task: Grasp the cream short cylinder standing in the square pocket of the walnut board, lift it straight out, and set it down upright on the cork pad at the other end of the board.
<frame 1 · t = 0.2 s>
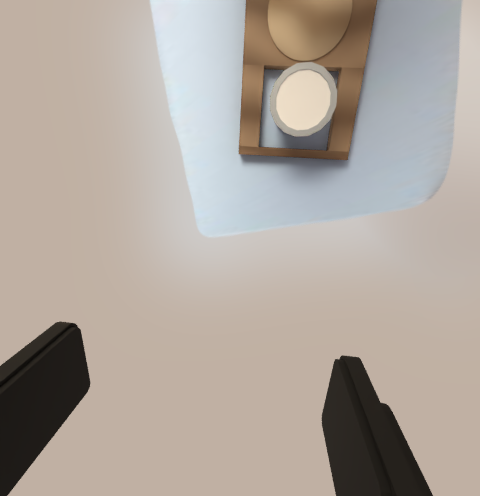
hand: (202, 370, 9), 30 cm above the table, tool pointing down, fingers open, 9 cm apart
pocket board: (301, 70, 31), on the table
cream short cylinder: (296, 111, 33), resting in pocket board
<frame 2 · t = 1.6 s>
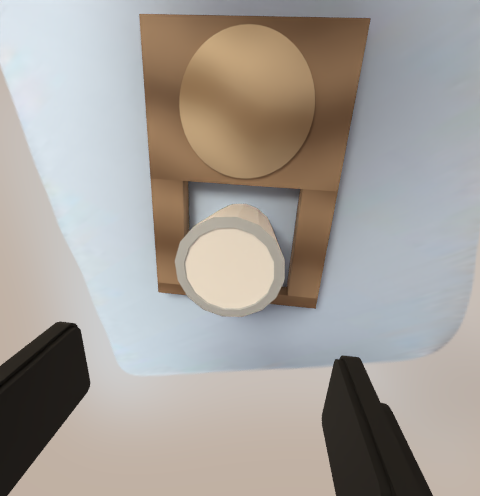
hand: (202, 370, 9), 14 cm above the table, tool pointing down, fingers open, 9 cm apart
pocket board: (243, 182, 21), on the table
cream short cylinder: (240, 235, 22), resting in pocket board
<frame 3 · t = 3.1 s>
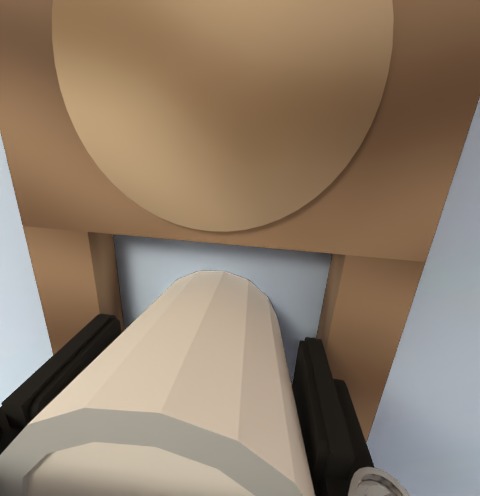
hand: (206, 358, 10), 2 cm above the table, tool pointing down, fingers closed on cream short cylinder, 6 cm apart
pocket board: (219, 231, 10), on the table
cream short cylinder: (217, 323, 12), resting in pocket board, touching gripper
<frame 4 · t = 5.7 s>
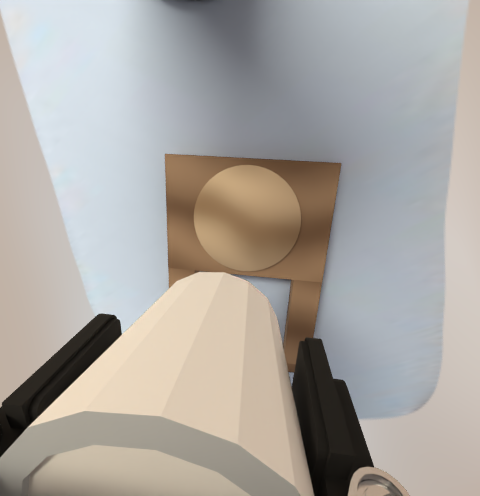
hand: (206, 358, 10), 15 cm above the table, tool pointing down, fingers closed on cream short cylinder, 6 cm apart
pocket board: (244, 268, 25), on the table
cream short cylinder: (217, 324, 12), point 13 cm above the table, touching gripper
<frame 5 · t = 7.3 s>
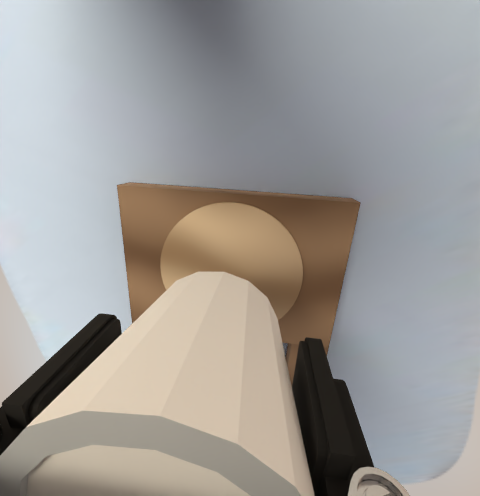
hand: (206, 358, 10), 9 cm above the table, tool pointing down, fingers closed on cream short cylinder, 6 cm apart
pocket board: (230, 323, 20), on the table
cream short cylinder: (217, 324, 12), point 6 cm above the table, touching gripper
when the fingers open (5 cm above the table, at t = 8.5 s): cream short cylinder stays where it is, resting on pocket board.
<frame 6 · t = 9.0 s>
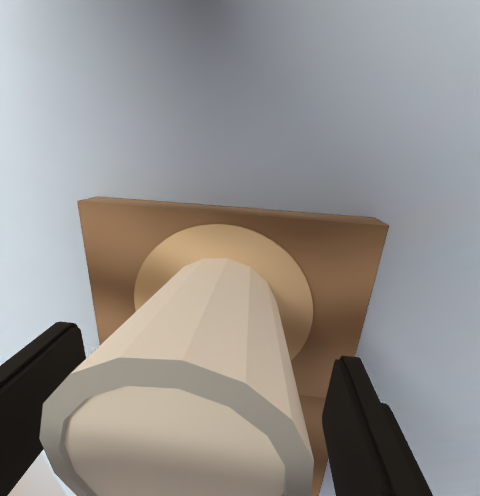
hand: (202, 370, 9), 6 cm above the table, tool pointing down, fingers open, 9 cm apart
pocket board: (223, 364, 16), on the table
cream short cylinder: (220, 307, 13), point 2 cm above the table, touching pocket board
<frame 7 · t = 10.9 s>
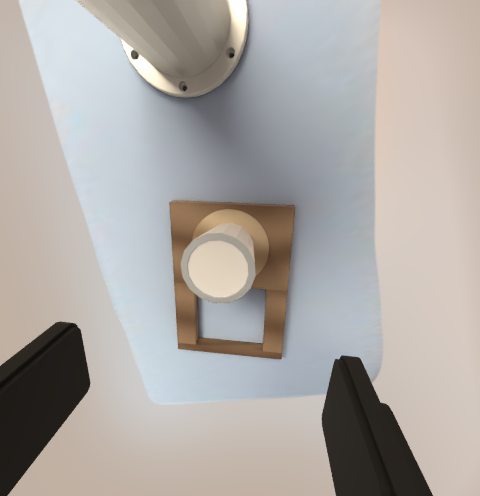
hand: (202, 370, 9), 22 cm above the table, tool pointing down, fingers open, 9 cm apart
pocket board: (231, 281, 33), on the table
cream short cylinder: (229, 246, 30), point 2 cm above the table, touching pocket board
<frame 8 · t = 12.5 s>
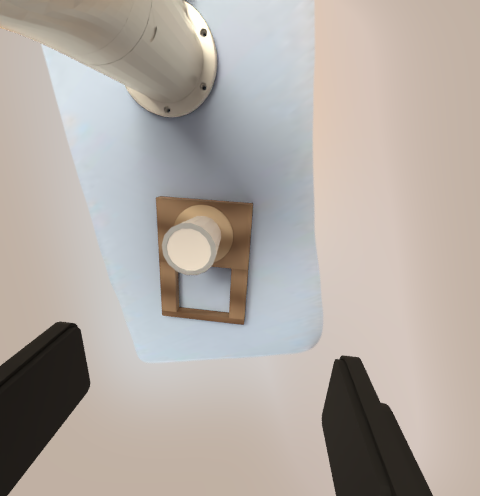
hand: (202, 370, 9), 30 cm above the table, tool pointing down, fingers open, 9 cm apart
pocket board: (205, 262, 41), on the table
cream short cylinder: (202, 233, 38), point 2 cm above the table, touching pocket board
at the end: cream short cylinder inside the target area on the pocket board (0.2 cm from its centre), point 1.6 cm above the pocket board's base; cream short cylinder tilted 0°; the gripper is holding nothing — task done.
